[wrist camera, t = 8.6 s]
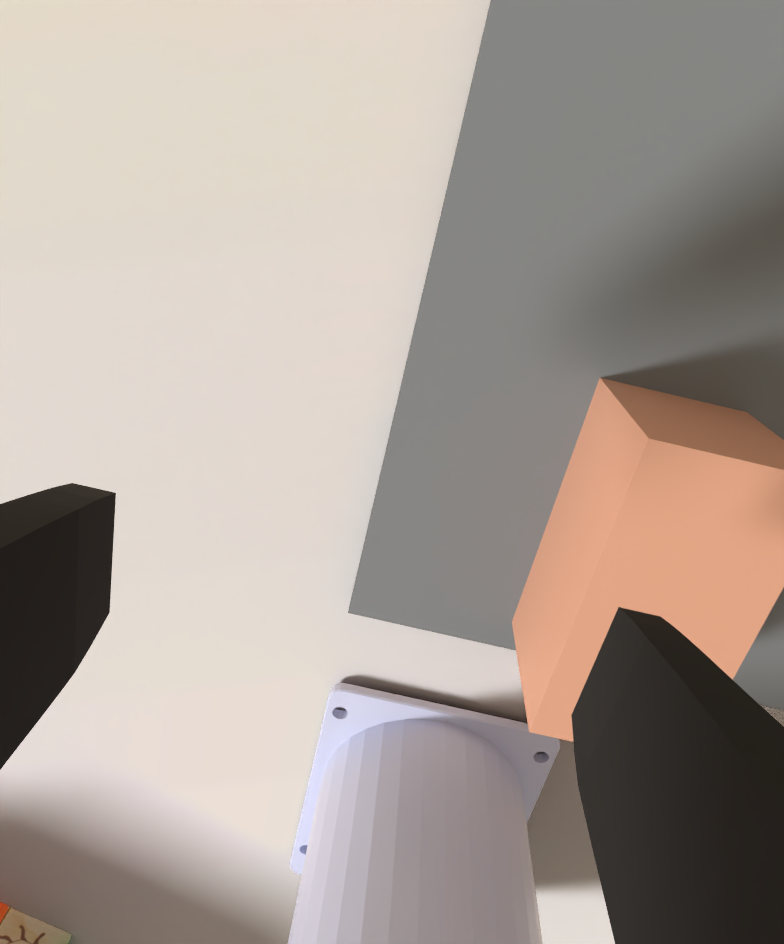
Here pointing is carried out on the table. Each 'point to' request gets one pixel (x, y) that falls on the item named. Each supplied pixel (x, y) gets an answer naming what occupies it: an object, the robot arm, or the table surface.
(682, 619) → the terracotta brick
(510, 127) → the mat
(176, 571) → the table surface
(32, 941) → the stack of blocks
